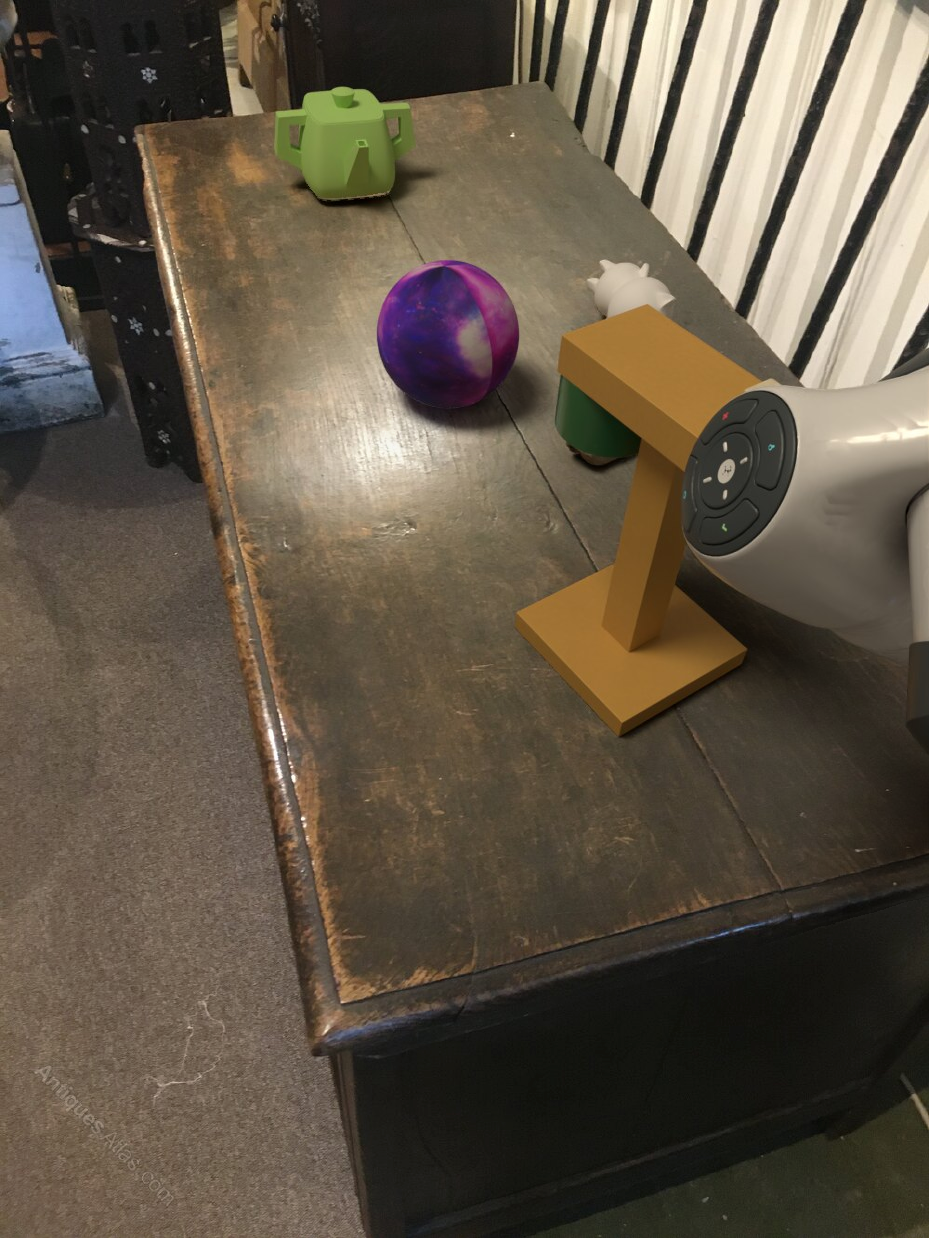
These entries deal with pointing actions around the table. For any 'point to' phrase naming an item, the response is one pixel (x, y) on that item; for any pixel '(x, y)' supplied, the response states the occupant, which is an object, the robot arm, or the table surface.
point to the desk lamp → (637, 519)
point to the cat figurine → (629, 290)
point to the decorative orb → (448, 334)
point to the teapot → (345, 142)
